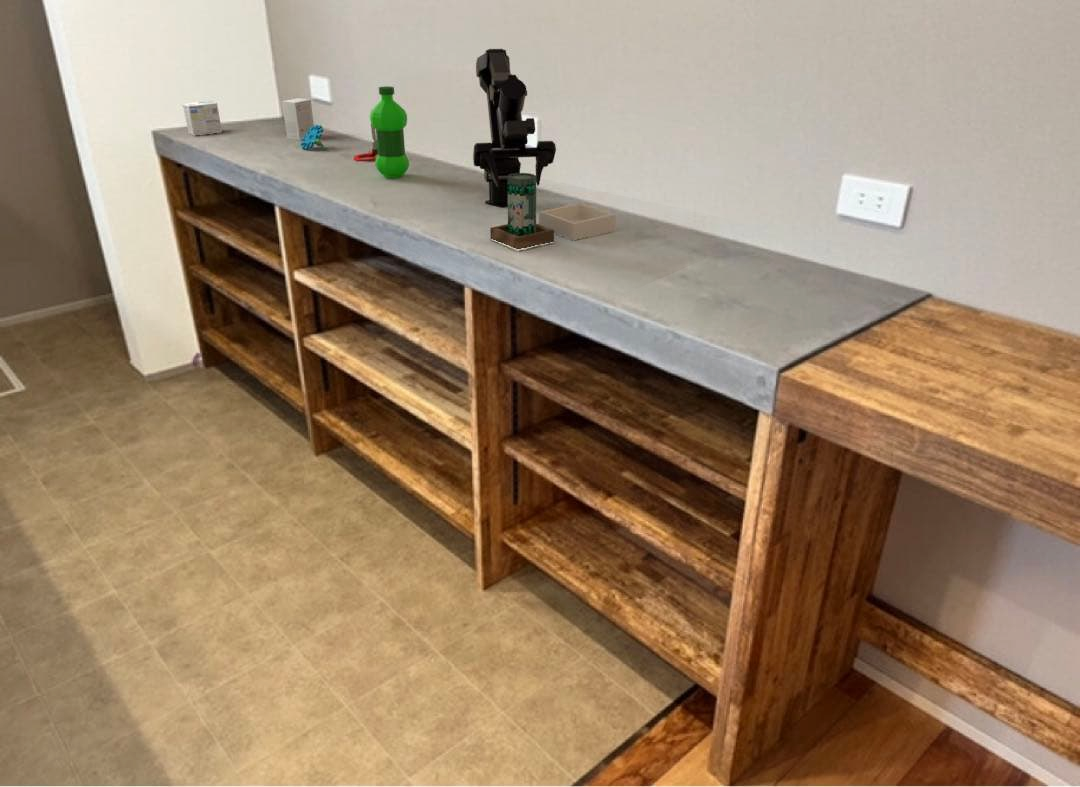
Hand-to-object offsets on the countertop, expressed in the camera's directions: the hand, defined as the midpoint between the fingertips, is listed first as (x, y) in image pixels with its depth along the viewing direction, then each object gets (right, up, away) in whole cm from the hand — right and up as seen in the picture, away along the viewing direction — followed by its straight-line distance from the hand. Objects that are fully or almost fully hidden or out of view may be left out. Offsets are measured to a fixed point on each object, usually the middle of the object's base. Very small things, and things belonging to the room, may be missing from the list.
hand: (518, 185), depth 189 cm
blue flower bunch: (-72, +35, +92) cm, 122 cm away
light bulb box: (-118, +48, +116) cm, 172 cm away
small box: (-81, +44, +109) cm, 143 cm away
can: (+1, -13, +1) cm, 13 cm away
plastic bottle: (-39, +17, +58) cm, 71 cm away
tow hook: (-51, +28, +79) cm, 98 cm away
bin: (+14, -8, +10) cm, 19 cm away
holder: (+1, -13, +1) cm, 13 cm away
